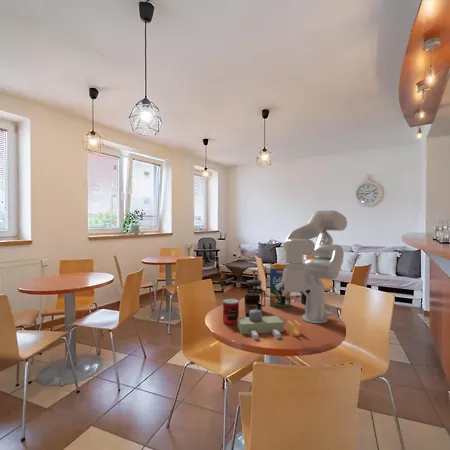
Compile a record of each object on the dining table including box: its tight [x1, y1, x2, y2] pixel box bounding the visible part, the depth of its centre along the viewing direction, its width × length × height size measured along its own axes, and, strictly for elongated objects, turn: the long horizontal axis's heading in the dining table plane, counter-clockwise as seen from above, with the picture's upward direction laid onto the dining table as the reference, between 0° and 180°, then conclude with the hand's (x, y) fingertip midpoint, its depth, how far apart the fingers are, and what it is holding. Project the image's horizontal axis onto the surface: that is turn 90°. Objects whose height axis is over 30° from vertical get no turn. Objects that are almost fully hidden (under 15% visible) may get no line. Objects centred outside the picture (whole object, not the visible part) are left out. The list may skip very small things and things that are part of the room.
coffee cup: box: [243, 292, 261, 317], centre depth 148 cm, size 9×8×13 cm
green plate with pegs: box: [236, 309, 285, 341], centre depth 129 cm, size 20×16×8 cm
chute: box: [286, 319, 302, 337], centre depth 128 cm, size 4×6×5 cm, turn 9°
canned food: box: [222, 298, 240, 326], centre depth 142 cm, size 8×8×11 cm
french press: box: [245, 269, 266, 312], centre depth 161 cm, size 12×9×23 cm
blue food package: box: [269, 263, 291, 308], centre depth 172 cm, size 6×12×25 cm, turn 80°
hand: (293, 304), depth 127 cm, fingers open, 9 cm apart
